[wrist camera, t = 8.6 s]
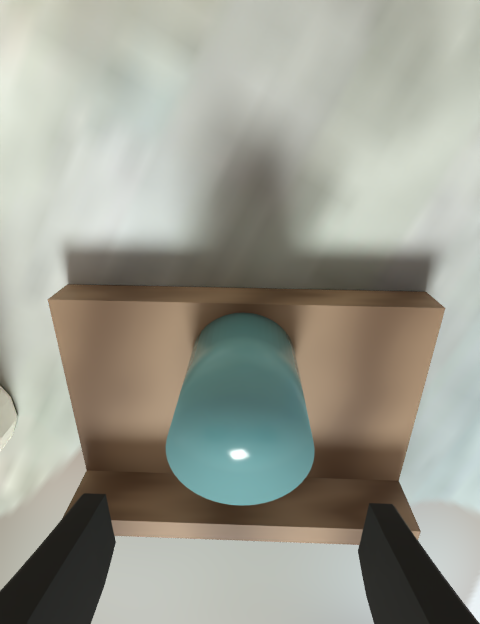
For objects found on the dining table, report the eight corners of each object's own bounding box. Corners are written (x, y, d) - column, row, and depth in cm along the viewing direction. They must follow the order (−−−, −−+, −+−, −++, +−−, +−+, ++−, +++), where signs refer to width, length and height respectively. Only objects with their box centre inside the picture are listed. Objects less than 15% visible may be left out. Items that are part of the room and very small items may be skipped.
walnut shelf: (425, 291, 18) (484, 341, 14) (383, 467, 23) (415, 546, 19) (67, 284, 18) (8, 329, 14) (102, 458, 23) (66, 533, 19)
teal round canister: (297, 312, 17) (320, 394, 11) (292, 401, 19) (309, 506, 13) (188, 312, 17) (158, 393, 11) (195, 400, 19) (172, 504, 13)
